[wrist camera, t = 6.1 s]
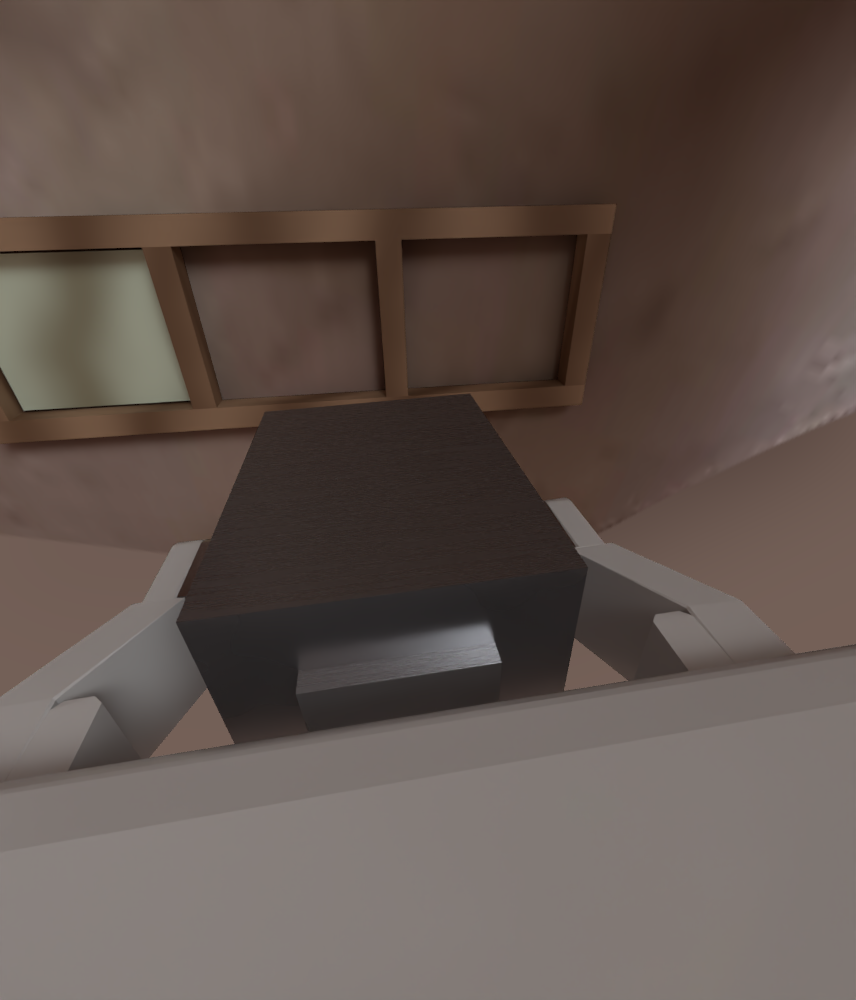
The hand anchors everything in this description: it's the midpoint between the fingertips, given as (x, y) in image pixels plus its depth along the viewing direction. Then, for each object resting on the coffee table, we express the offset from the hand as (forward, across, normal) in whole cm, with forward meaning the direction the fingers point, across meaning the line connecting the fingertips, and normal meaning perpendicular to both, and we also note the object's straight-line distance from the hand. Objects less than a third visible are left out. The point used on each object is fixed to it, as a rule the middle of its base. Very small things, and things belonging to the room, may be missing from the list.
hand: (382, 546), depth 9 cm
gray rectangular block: (+2, 0, 0) cm, 2 cm away
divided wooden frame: (+18, +3, -1) cm, 18 cm away
